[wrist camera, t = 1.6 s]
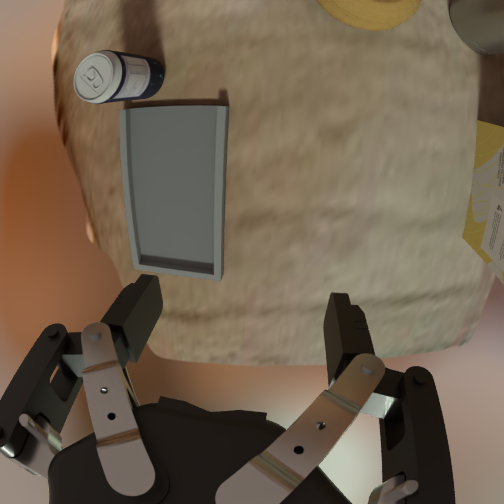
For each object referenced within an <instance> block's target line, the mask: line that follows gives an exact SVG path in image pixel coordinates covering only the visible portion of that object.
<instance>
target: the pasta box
mask: <svg viewBox="0 0 504 504" xmlns="http://www.w3.org/2000/svg"><path fill="white" fill-rule="evenodd" d="M462 238H463V239H464V240H465V241H466V242H467V243H468V244H469V245H470V246H471V247H472V248H473V249H474V250H475V252H476V253H477V254H478V255H479V256H480V257H481V258H482V259H483V260H484V262H485V263H486V264H487V265H488V266H489V267H490V269H491V270H492V271H493V272H494V273H495V275H496V276H497V277H498V278H499V279H500V281H501V282H502V283H503V284H504V127H502V126H498V125H495V124H491V123H487V122H483V121H479V120H477V138H476V153H475V164H474V174H473V182H472V189H471V195H470V202H469V207H468V213H467V218H466V223H465V228H464V232H463V237H462Z"/></svg>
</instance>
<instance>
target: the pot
mask: <svg viewBox="0 0 504 504" xmlns="http://www.w3.org/2000/svg"><path fill="white" fill-rule="evenodd" d="M420 1H421V0H317V2H318V3H319V4H320V5H321V7H322V8H323V9H324V10H326V11H327V12H328V13H329V14H330V15H331V16H333V17H334V18H336V19H338V20H339V21H341V22H343V23H345V24H347V25H350V26H352V27H355V28H359V29H363V30H372V31H380V30H388V29H391V28H394V27H396V26H398V25H399V24H401V23H402V22H404V21H405V20H407V19H408V18H410V17H411V16H412V15H414V13H415V12H416V11H417V9H418V8H419V4H420Z"/></svg>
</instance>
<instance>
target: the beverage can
mask: <svg viewBox="0 0 504 504" xmlns="http://www.w3.org/2000/svg"><path fill="white" fill-rule="evenodd" d="M163 81H164V70H163V67H162V65H161V64H160V63H159V62H158V61H157V60H155V59H153V58H149V57H144V56H139V55H134V54H129V53H123V52H117V51H111V50H102V51H98V52H96V53H93V54H91V55H89V56H87V57H86V58H84V59H83V60H82V61H81V63H80V64H79V66H78V67H77V69H76V72H75V75H74V88H75V91H76V93H77V95H78V96H79V97H80V98H81V99H83V100H85V101H88V102H90V103H93V104H101V103H109V102H117V101H127V100H138V99H146V98H149V97H151V96H153V95H154V94H156V93H157V92H158V91H159V89H160V88H161V86H162V84H163Z"/></svg>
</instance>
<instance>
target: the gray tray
mask: <svg viewBox="0 0 504 504" xmlns="http://www.w3.org/2000/svg"><path fill="white" fill-rule="evenodd" d="M228 121H229V106H212V105H188V106H159V107H143V108H131V109H123V110H119V126H120V152H121V168H122V180H123V191H124V201H125V210H126V218H127V226H128V233H129V240H130V246H131V252H132V258H133V264H134V269H138V270H144V271H151V272H158V273H164V274H171V275H178V276H185V277H192V278H199V279H207V280H214V281H221V279H222V276H223V269H224V221H225V189H226V163H227V141H228Z"/></svg>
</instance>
